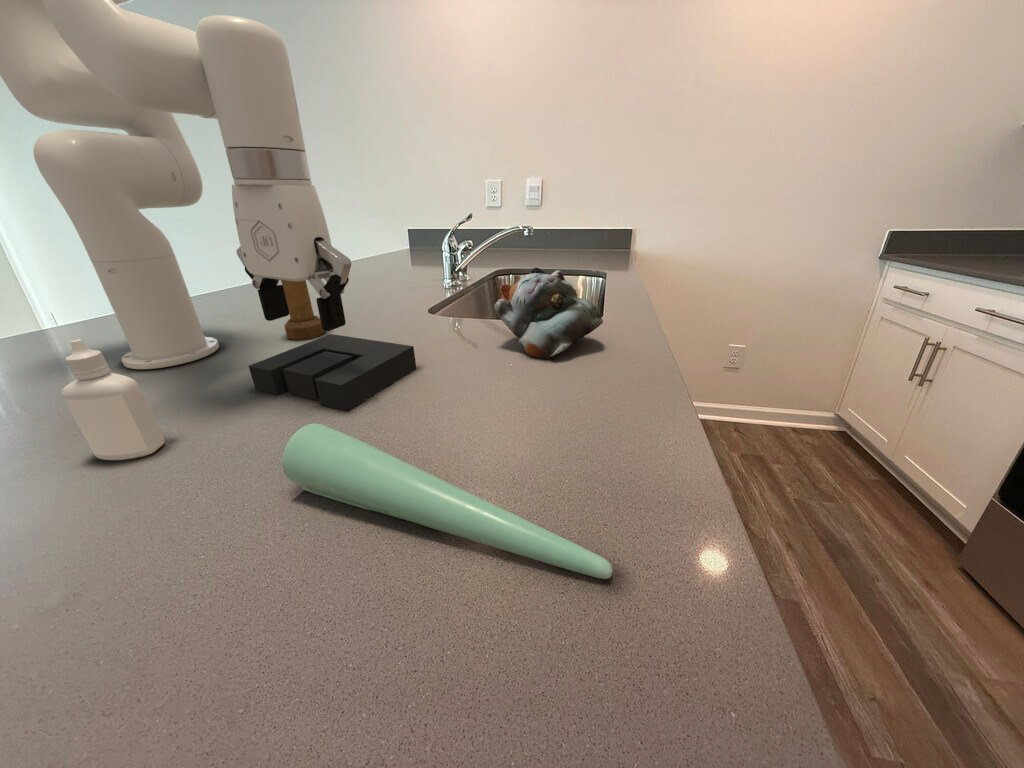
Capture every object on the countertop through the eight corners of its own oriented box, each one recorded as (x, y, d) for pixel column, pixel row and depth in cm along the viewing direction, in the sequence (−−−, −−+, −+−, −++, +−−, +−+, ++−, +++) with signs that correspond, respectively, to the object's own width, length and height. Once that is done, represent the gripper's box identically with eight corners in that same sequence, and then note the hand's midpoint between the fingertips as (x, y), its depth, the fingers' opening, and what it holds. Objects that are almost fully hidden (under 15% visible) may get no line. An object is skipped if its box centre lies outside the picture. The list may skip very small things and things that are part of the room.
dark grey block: (289, 394, 53) (282, 369, 52) (330, 373, 59) (325, 351, 57) (317, 400, 51) (311, 375, 50) (357, 378, 57) (352, 355, 55)
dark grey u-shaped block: (255, 389, 54) (248, 365, 53) (335, 354, 66) (330, 333, 64) (347, 411, 49) (341, 385, 47) (416, 368, 60) (413, 345, 59)
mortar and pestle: (310, 341, 72) (284, 233, 64) (279, 339, 73) (249, 233, 66) (332, 329, 78) (311, 230, 70) (303, 328, 79) (278, 230, 72)
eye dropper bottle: (123, 469, 39) (61, 352, 34) (90, 457, 41) (27, 345, 36) (172, 445, 43) (123, 336, 37) (140, 435, 45) (88, 330, 39)
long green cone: (609, 549, 22) (274, 443, 32) (602, 615, 25) (291, 497, 35) (627, 489, 27) (326, 412, 37) (619, 549, 29) (339, 462, 39)
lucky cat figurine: (537, 366, 59) (496, 278, 57) (513, 368, 71) (478, 295, 69) (618, 323, 63) (582, 239, 61) (583, 332, 75) (551, 261, 73)
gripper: (184, 169, 44) (231, 322, 51) (301, 168, 38) (334, 342, 45) (249, 171, 50) (282, 307, 58) (358, 171, 44) (379, 323, 51)
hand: (305, 322), depth 51 cm, fingers open, 9 cm apart
